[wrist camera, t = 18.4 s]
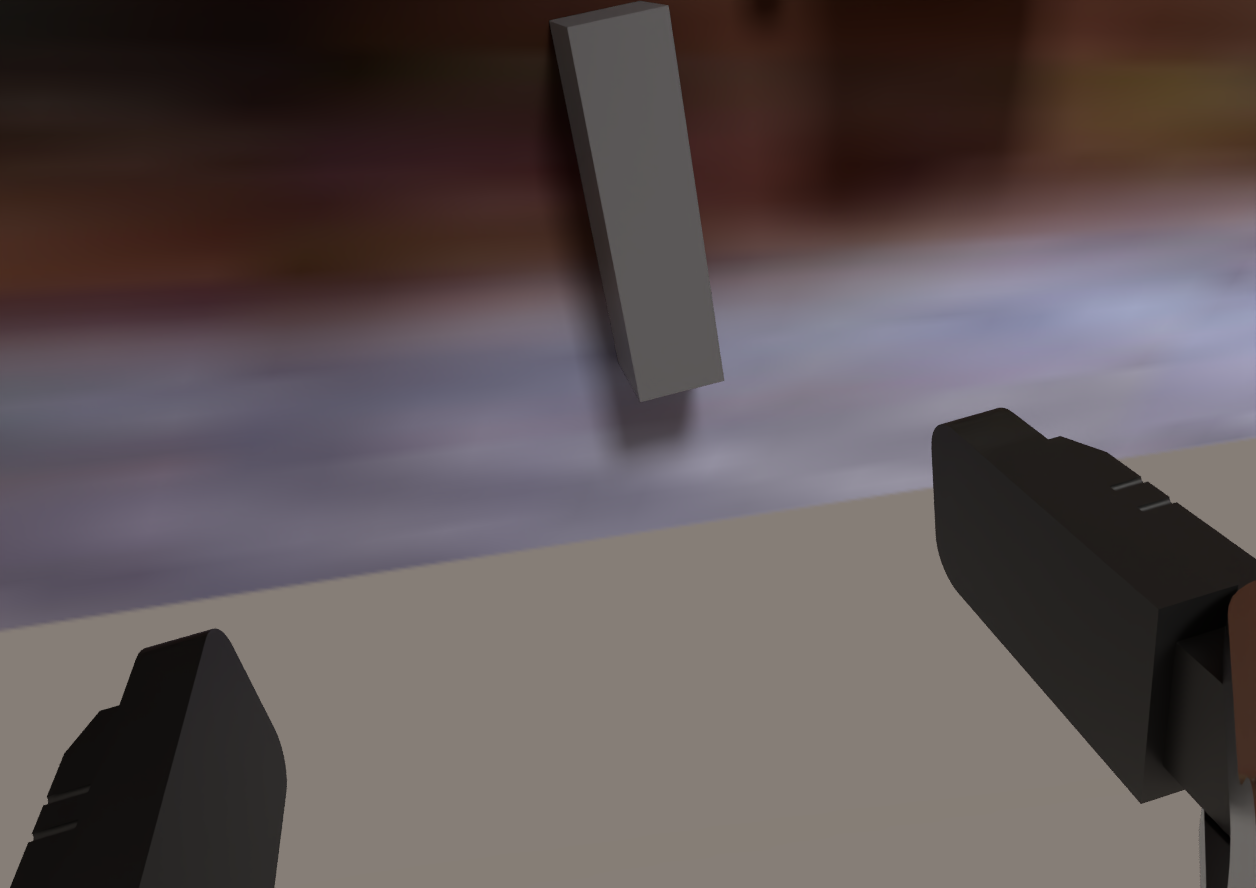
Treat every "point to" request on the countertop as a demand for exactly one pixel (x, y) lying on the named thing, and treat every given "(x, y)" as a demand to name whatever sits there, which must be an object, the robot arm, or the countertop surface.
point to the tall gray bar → (640, 193)
